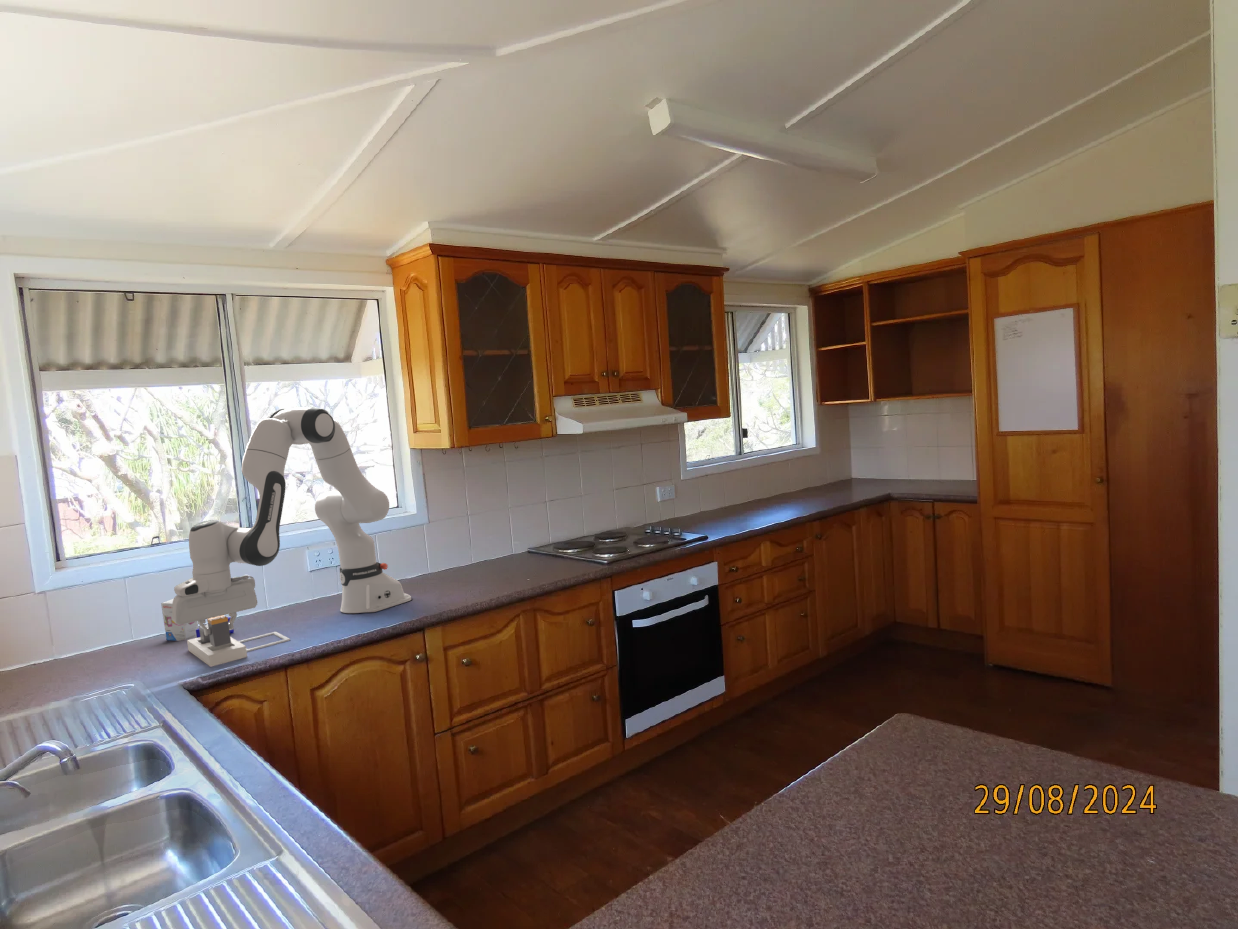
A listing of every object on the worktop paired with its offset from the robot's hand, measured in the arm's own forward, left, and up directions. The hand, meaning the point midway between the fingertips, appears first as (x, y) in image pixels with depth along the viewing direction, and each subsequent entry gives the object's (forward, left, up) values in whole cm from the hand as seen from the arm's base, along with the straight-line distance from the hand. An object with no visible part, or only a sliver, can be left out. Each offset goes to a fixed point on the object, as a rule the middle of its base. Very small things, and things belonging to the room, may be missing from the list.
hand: (219, 632), depth 206 cm
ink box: (+1, -36, -8) cm, 37 cm away
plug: (0, 0, -3) cm, 3 cm away
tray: (-12, -5, -8) cm, 15 cm away
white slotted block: (0, -5, -8) cm, 9 cm away
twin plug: (0, -10, -7) cm, 12 cm away
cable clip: (-4, -22, -8) cm, 23 cm away
